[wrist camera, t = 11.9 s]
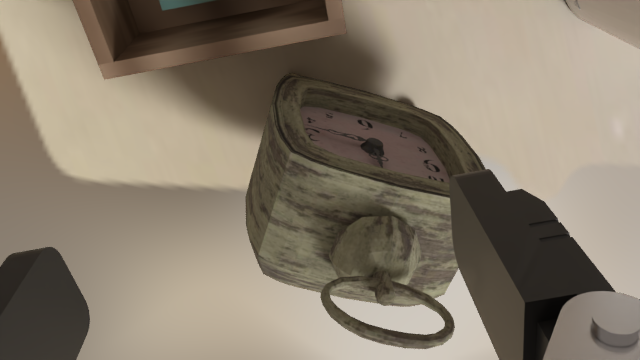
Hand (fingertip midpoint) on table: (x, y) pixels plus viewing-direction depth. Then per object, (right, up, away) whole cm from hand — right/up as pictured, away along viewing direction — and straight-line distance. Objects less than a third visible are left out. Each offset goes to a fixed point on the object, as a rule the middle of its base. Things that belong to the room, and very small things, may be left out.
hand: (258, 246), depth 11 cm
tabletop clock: (+3, +6, +35) cm, 36 cm away
